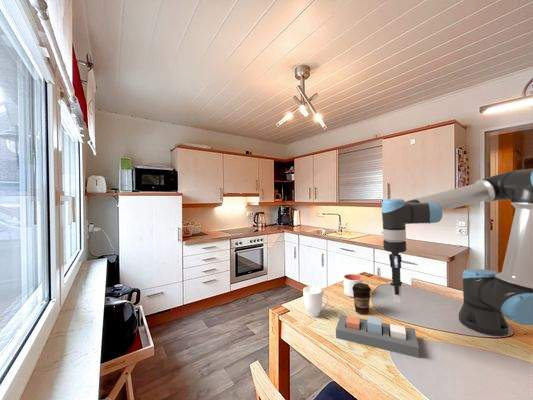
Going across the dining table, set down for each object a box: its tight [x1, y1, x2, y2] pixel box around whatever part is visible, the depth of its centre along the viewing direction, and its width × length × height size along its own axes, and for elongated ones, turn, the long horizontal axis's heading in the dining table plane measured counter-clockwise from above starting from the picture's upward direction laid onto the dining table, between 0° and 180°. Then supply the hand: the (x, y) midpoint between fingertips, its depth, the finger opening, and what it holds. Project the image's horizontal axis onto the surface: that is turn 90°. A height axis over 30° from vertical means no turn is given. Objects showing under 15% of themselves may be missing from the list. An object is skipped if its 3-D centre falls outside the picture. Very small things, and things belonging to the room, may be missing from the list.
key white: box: [389, 323, 406, 340], centre depth 86 cm, size 5×5×5 cm
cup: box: [343, 273, 363, 299], centre depth 128 cm, size 10×10×10 cm
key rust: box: [346, 315, 361, 330], centre depth 93 cm, size 5×5×5 cm
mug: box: [302, 285, 329, 318], centre depth 109 cm, size 12×9×12 cm
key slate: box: [366, 315, 383, 335], centre depth 90 cm, size 5×5×5 cm
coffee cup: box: [352, 282, 372, 315], centre depth 109 cm, size 9×8×13 cm
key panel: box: [335, 314, 420, 359], centre depth 90 cm, size 28×12×4 cm, turn 63°
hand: (397, 301), depth 86 cm, fingers closed
